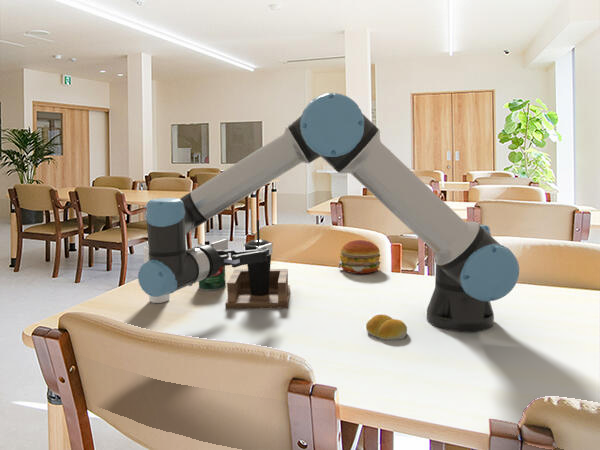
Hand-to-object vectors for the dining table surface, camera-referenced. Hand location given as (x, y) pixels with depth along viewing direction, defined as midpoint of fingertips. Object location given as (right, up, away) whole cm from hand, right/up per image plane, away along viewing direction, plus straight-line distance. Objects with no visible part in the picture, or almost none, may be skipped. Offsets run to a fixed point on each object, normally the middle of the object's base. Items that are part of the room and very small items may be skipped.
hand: (248, 246), depth 136 cm
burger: (+33, -10, +35) cm, 49 cm away
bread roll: (+33, -19, -19) cm, 43 cm away
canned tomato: (-12, -13, +18) cm, 26 cm away
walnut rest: (+2, -15, +6) cm, 16 cm away
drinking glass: (-25, -15, +6) cm, 29 cm away
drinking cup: (+2, -13, +6) cm, 15 cm away
